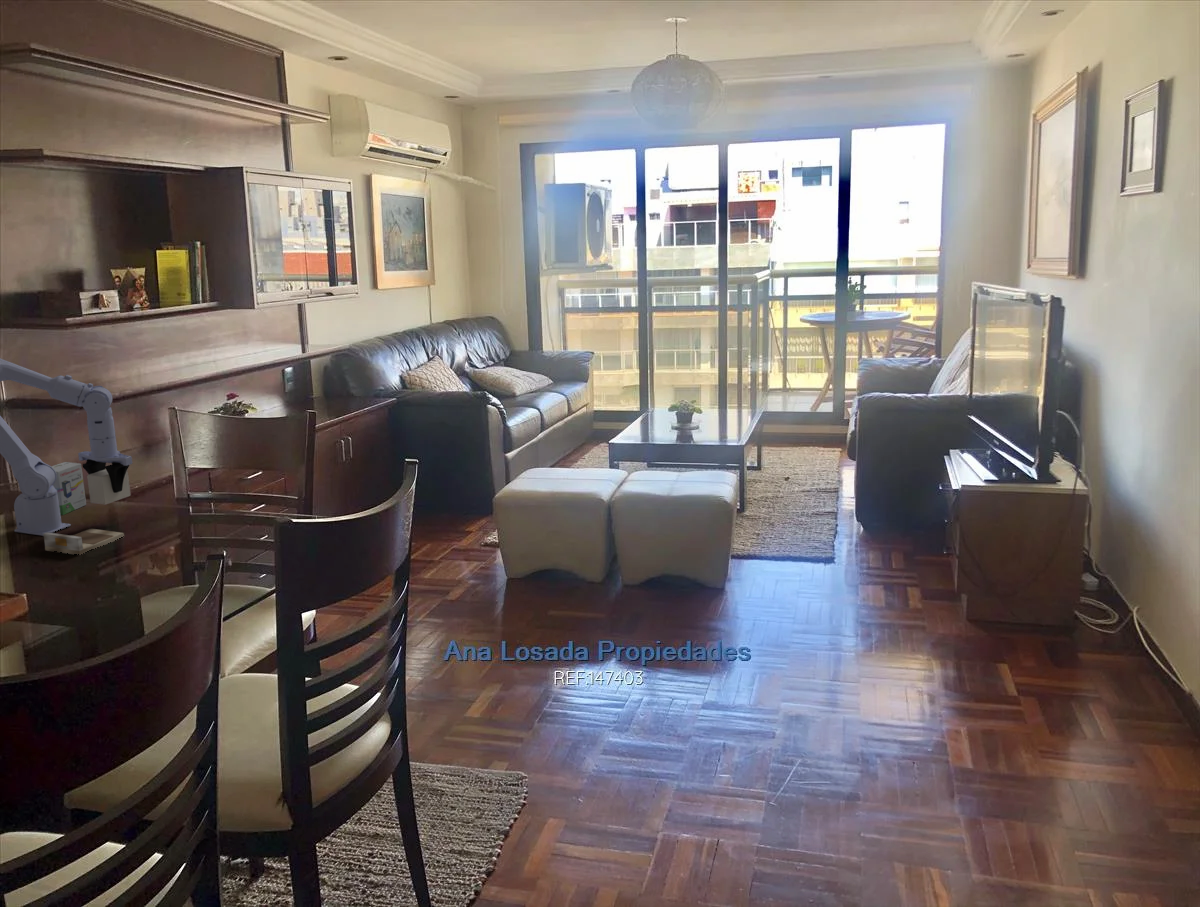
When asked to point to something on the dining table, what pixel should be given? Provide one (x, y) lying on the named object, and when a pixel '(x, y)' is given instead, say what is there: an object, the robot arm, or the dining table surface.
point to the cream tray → (79, 541)
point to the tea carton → (105, 488)
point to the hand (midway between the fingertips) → (109, 490)
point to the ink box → (69, 486)
